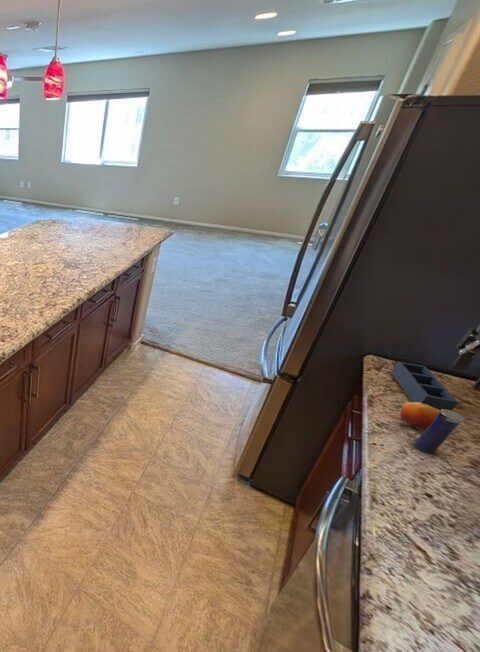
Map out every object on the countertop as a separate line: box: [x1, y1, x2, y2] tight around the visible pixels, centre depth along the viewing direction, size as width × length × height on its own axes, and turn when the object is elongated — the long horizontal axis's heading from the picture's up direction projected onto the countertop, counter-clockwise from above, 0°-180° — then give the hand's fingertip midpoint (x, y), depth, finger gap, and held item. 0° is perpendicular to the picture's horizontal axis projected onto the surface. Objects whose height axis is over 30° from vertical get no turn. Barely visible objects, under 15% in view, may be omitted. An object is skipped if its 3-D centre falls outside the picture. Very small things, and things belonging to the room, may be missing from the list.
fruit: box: [399, 401, 440, 434], centre depth 105 cm, size 8×8×8 cm
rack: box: [390, 361, 459, 411], centre depth 117 cm, size 7×18×4 cm, turn 155°
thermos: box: [413, 409, 465, 455], centre depth 97 cm, size 4×4×12 cm
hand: (467, 379), depth 90 cm, fingers open, 8 cm apart
